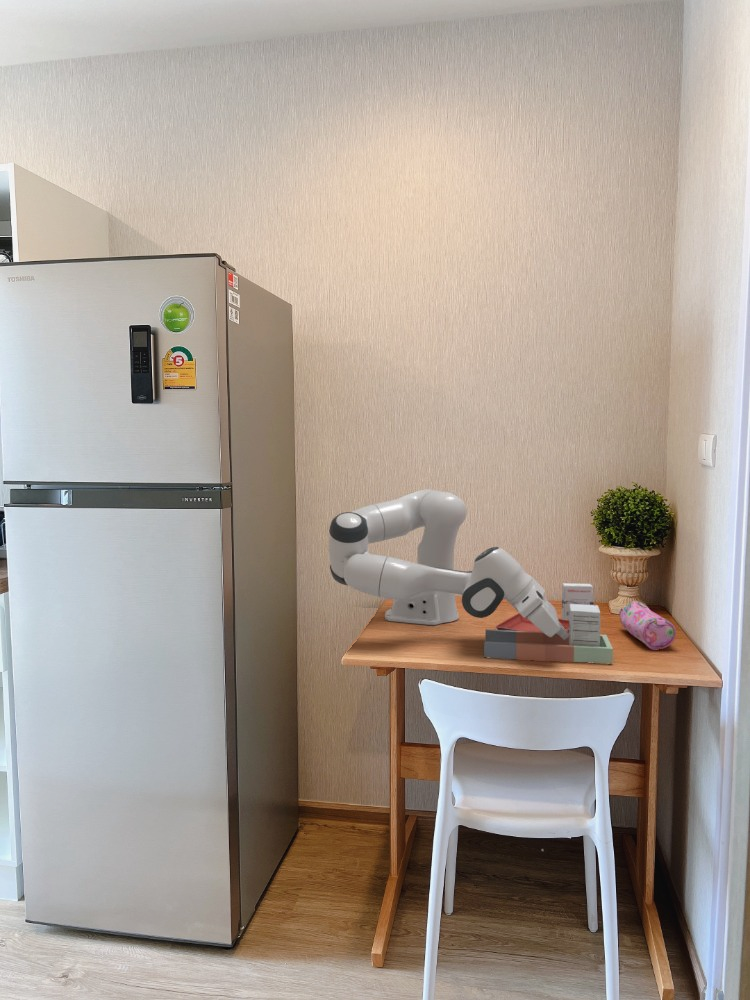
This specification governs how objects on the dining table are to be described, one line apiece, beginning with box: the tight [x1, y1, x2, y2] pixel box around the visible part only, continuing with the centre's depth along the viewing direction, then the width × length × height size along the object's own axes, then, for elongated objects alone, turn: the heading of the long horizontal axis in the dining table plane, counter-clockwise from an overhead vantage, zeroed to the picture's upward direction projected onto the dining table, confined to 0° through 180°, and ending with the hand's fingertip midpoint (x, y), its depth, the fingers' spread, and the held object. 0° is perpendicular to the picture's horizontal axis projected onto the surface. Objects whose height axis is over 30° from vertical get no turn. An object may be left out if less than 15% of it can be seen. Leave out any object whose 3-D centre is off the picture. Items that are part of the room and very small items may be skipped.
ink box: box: [561, 582, 595, 620], centre depth 221 cm, size 8×5×12 cm, turn 84°
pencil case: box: [618, 600, 677, 651], centre depth 204 cm, size 21×9×9 cm, turn 178°
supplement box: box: [569, 604, 601, 647], centre depth 189 cm, size 7×7×13 cm
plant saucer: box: [495, 612, 569, 633], centre depth 210 cm, size 18×18×3 cm
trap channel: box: [483, 629, 614, 664], centre depth 192 cm, size 31×12×4 cm, turn 80°
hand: (566, 636), depth 190 cm, fingers closed, pressing on supplement box
